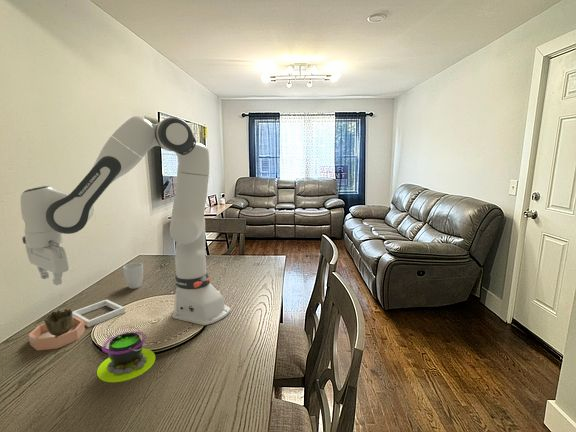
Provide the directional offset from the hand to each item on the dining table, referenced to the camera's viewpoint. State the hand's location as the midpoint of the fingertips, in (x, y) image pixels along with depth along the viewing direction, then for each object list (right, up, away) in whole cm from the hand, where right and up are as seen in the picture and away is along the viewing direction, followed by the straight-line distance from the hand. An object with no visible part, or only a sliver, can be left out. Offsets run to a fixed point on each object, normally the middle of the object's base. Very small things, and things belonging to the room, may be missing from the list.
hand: (51, 281), depth 100 cm
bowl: (0, -19, +3) cm, 20 cm away
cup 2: (+2, -19, +2) cm, 19 cm away
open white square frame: (+4, -17, +18) cm, 25 cm away
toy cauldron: (+29, -22, -10) cm, 38 cm away
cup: (+5, -12, +45) cm, 47 cm away
